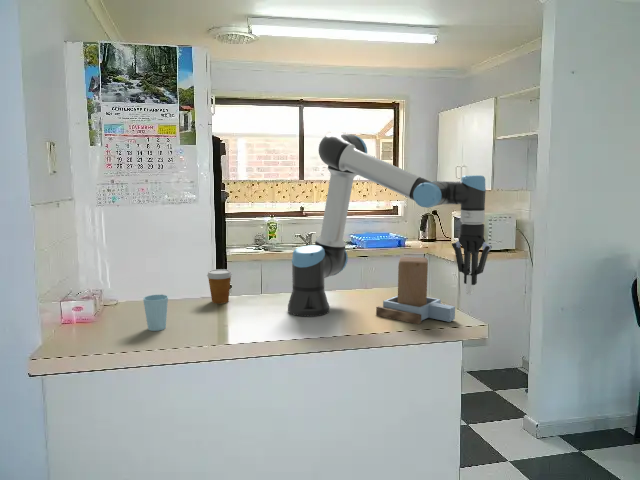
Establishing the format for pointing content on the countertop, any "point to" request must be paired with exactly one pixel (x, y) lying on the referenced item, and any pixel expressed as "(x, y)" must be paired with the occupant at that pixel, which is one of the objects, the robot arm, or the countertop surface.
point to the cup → (156, 311)
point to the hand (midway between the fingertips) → (469, 293)
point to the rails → (399, 314)
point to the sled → (424, 309)
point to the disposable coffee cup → (219, 285)
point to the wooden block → (412, 281)
